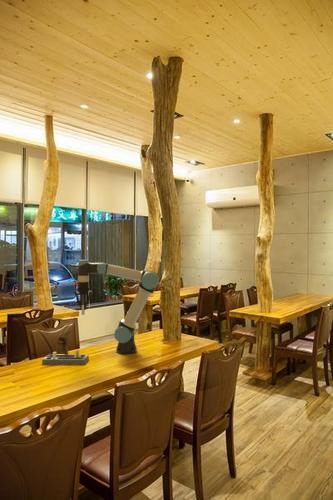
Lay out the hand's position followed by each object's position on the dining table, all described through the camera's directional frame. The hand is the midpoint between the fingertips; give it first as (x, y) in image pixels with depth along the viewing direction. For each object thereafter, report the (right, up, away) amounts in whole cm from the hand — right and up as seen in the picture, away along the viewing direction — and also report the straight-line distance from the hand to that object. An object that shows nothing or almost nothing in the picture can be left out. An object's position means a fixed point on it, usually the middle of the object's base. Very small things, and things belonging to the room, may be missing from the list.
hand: (83, 314), depth 255 cm
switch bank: (-8, -29, -14) cm, 34 cm away
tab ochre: (-1, -28, -12) cm, 30 cm away
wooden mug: (-15, -30, +4) cm, 33 cm away
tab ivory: (-15, -27, -17) cm, 36 cm away
